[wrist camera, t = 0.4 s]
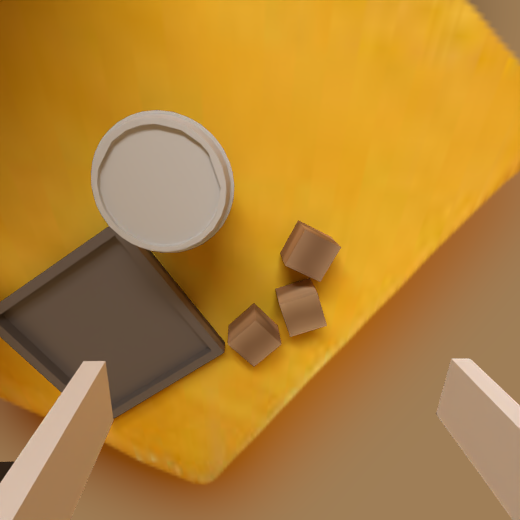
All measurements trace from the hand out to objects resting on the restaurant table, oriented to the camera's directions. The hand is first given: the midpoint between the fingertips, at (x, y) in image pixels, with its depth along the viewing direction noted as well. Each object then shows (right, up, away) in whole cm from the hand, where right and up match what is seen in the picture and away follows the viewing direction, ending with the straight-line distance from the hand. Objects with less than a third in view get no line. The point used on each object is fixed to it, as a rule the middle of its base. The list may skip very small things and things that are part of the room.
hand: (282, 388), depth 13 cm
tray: (-17, -3, +25) cm, 31 cm away
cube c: (+4, +7, +24) cm, 25 cm away
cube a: (-2, -3, +26) cm, 26 cm away
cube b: (+3, +1, +26) cm, 26 cm away
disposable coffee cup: (-8, +14, +20) cm, 26 cm away
